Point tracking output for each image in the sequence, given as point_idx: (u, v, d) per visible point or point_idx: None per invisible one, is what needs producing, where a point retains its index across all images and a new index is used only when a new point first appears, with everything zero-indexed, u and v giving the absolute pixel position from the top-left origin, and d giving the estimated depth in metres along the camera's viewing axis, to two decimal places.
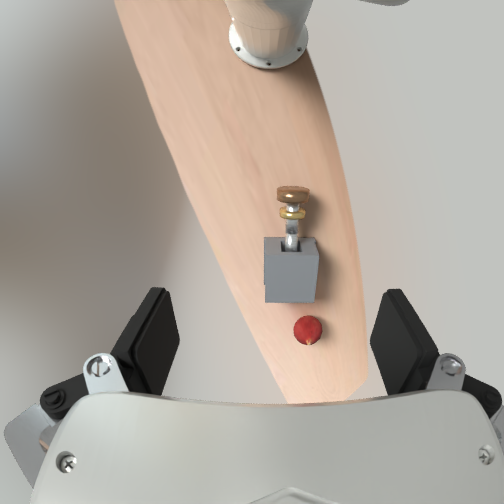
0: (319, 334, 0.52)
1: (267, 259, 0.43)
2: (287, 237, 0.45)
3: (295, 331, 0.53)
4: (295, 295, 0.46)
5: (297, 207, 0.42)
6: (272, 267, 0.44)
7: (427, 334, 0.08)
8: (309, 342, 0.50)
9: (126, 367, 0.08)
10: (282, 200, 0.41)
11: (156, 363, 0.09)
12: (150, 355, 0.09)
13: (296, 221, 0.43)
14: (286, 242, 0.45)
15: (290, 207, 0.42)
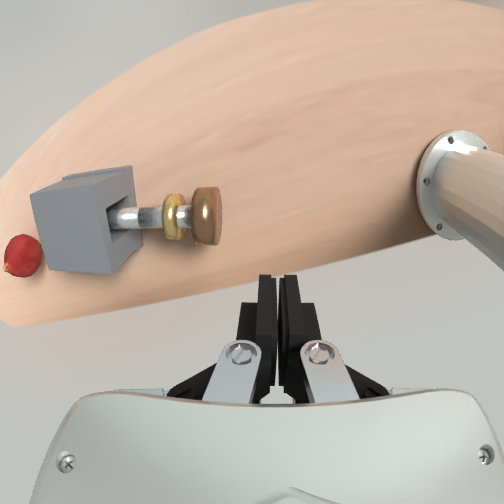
0: (21, 276, 0.27)
1: (87, 188, 0.20)
2: (132, 212, 0.23)
3: (15, 240, 0.26)
4: (49, 242, 0.22)
5: (185, 226, 0.23)
6: (77, 199, 0.20)
7: (301, 318, 0.09)
8: (5, 269, 0.24)
9: (262, 352, 0.09)
10: (194, 202, 0.21)
11: None
12: None
13: (160, 226, 0.24)
14: (124, 211, 0.23)
15: (183, 215, 0.23)
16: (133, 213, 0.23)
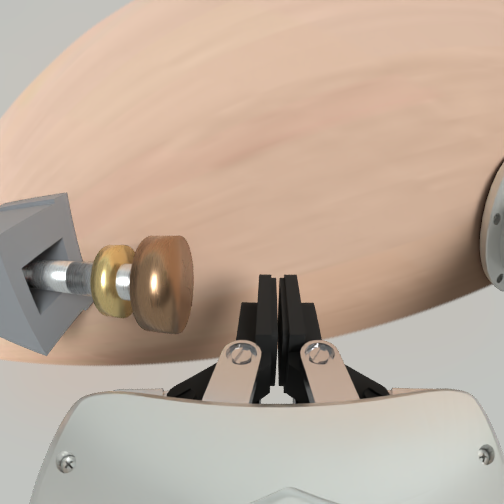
0: None
1: None
2: (58, 272, 0.13)
3: None
4: None
5: None
6: None
7: (301, 318, 0.09)
8: None
9: (262, 352, 0.09)
10: (135, 272, 0.12)
11: None
12: None
13: None
14: (50, 268, 0.14)
15: (126, 284, 0.13)
16: (60, 273, 0.13)
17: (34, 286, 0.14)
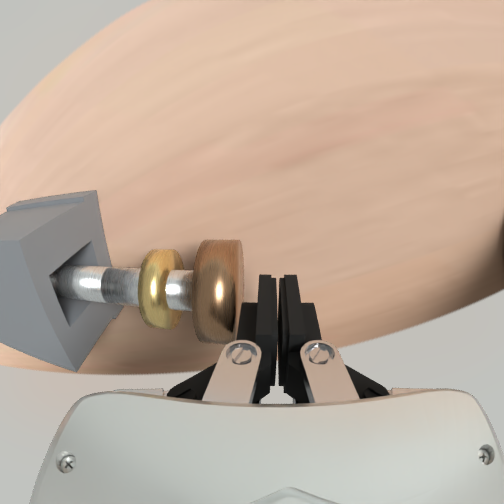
0: None
1: (12, 246, 0.09)
2: (91, 279, 0.13)
3: None
4: None
5: (182, 309, 0.13)
6: (4, 260, 0.10)
7: (300, 318, 0.09)
8: None
9: (262, 352, 0.09)
10: (198, 280, 0.11)
11: None
12: None
13: None
14: (80, 274, 0.13)
15: (178, 292, 0.12)
16: (94, 281, 0.13)
17: (59, 294, 0.13)
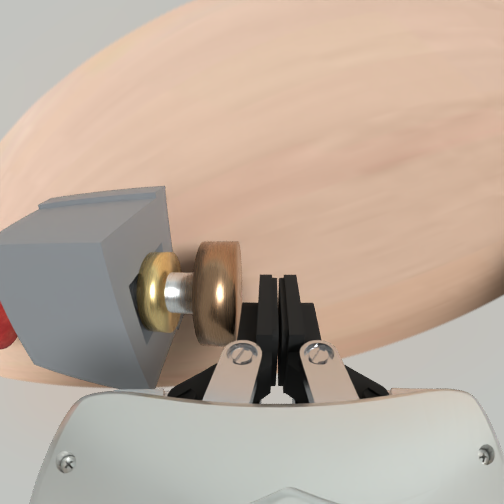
0: None
1: (85, 250, 0.09)
2: None
3: None
4: (26, 329, 0.11)
5: (181, 312, 0.13)
6: (65, 268, 0.09)
7: (300, 318, 0.09)
8: None
9: (263, 352, 0.09)
10: (199, 282, 0.11)
11: None
12: None
13: None
14: None
15: (177, 295, 0.12)
16: None
17: None
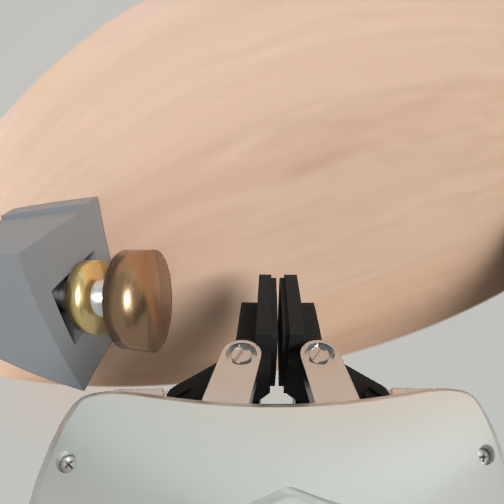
0: None
1: (11, 260, 0.08)
2: None
3: None
4: None
5: None
6: (1, 275, 0.09)
7: (301, 318, 0.09)
8: None
9: (262, 352, 0.09)
10: (107, 290, 0.10)
11: None
12: None
13: None
14: None
15: (100, 301, 0.12)
16: None
17: None
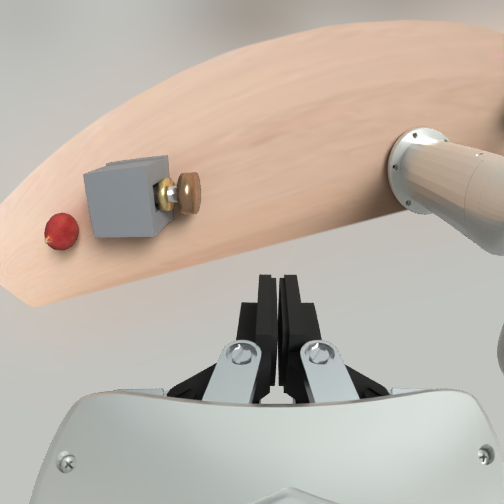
0: (59, 248, 0.35)
1: (140, 168, 0.28)
2: None
3: (56, 217, 0.34)
4: (98, 213, 0.30)
5: (173, 200, 0.32)
6: (130, 177, 0.28)
7: (301, 318, 0.09)
8: (47, 241, 0.32)
9: (262, 352, 0.09)
10: (179, 182, 0.30)
11: None
12: None
13: (156, 201, 0.32)
14: None
15: (172, 192, 0.31)
16: None
17: None
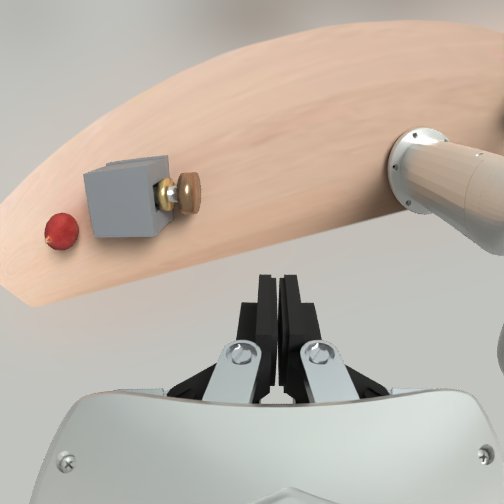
0: (59, 248, 0.35)
1: (140, 168, 0.28)
2: None
3: (56, 217, 0.34)
4: (99, 213, 0.30)
5: (173, 200, 0.32)
6: (130, 177, 0.28)
7: (301, 318, 0.09)
8: (47, 241, 0.32)
9: (262, 352, 0.09)
10: (179, 182, 0.30)
11: None
12: None
13: (156, 201, 0.32)
14: None
15: (172, 192, 0.31)
16: None
17: None
